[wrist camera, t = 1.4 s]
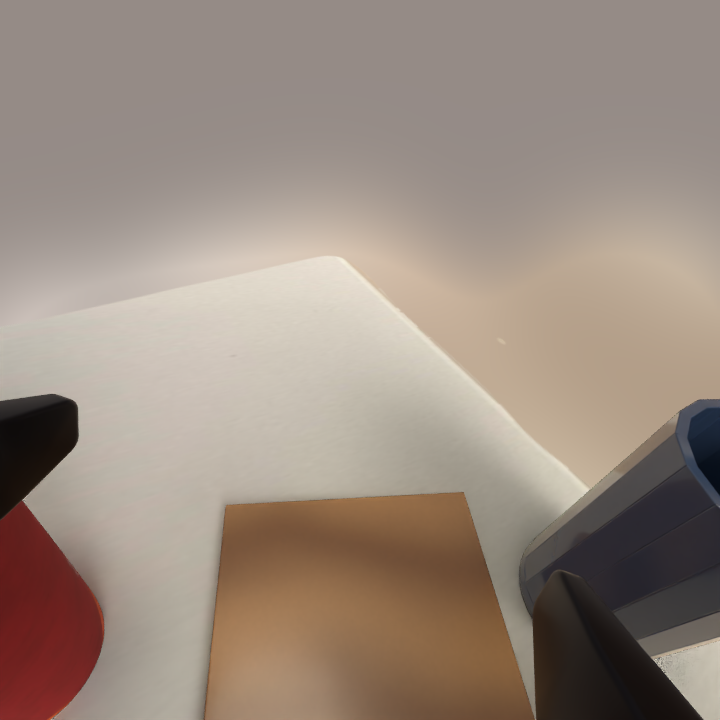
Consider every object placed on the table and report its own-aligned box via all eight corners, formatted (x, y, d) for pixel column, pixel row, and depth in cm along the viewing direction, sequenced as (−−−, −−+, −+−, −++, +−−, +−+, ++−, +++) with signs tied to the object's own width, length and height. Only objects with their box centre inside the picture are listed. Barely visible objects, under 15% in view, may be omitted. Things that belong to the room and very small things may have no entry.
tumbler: (667, 661, 21) (973, 580, 12) (550, 678, 20) (789, 604, 10) (600, 530, 25) (782, 397, 16) (501, 538, 24) (638, 399, 15)
